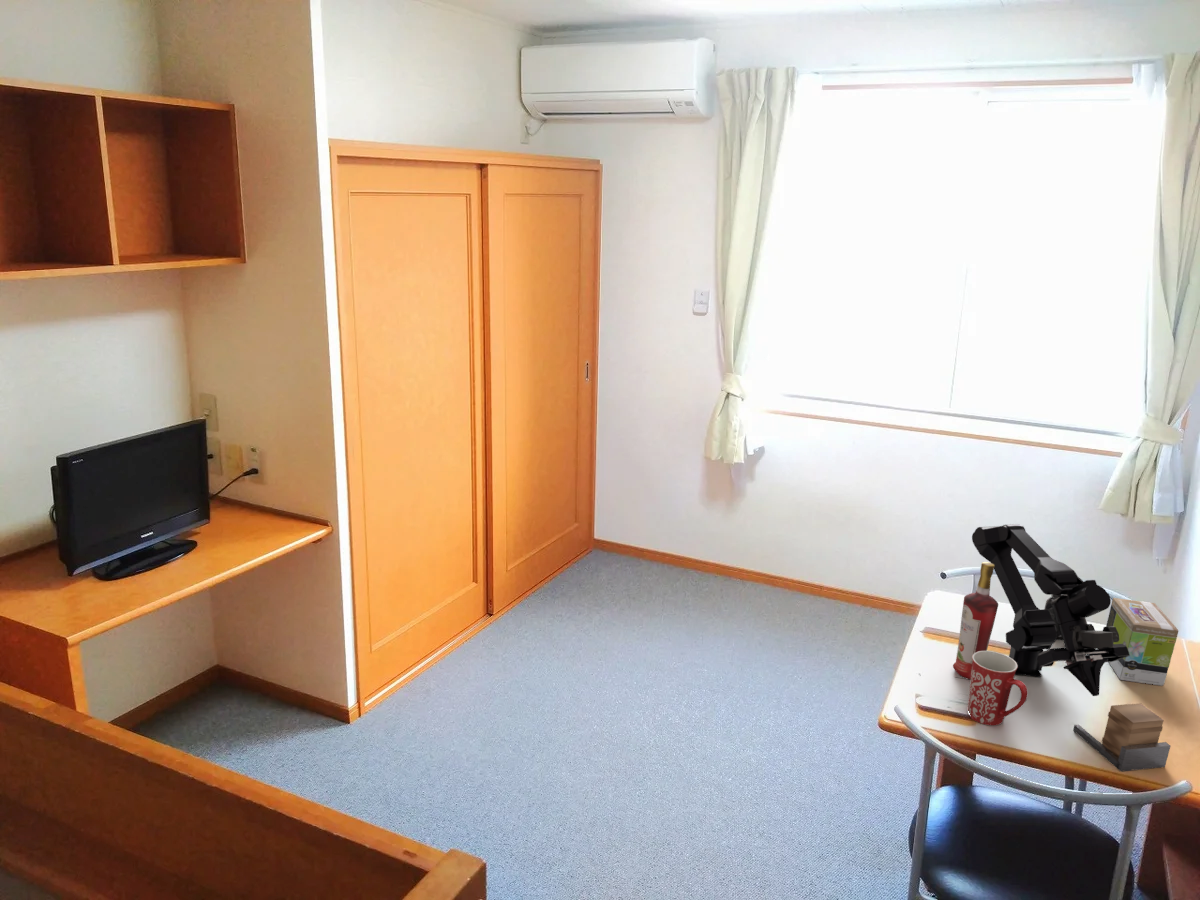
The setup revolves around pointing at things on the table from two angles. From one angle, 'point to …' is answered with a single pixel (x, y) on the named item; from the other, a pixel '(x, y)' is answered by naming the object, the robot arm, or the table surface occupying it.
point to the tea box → (1142, 641)
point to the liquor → (976, 622)
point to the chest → (1131, 727)
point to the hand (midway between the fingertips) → (1096, 695)
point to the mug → (992, 687)
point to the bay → (1130, 753)
